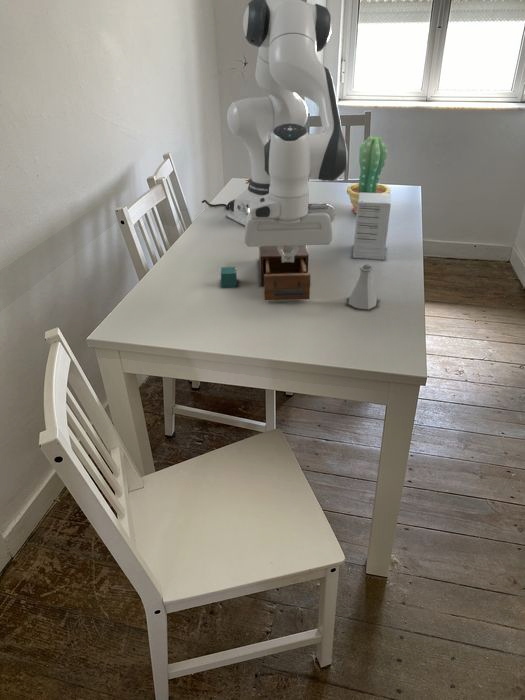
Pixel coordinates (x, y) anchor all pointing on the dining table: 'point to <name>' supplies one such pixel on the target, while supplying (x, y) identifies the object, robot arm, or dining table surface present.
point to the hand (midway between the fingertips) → (287, 261)
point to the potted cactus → (369, 170)
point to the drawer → (286, 280)
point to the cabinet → (279, 256)
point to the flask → (363, 290)
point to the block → (228, 277)
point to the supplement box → (371, 225)
